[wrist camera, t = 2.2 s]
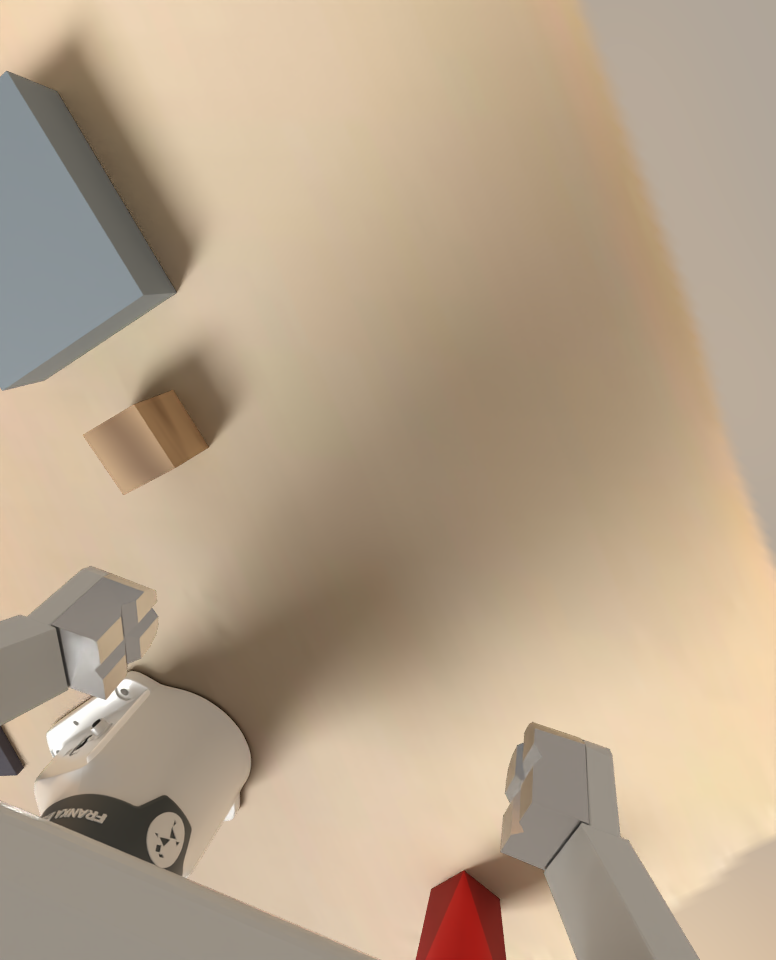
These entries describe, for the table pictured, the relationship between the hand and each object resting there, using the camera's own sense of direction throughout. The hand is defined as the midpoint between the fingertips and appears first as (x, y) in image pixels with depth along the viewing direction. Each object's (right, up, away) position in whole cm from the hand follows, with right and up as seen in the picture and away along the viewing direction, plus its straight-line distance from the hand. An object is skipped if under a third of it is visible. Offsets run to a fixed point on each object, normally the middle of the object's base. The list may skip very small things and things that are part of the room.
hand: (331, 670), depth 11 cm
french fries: (+9, -36, +44) cm, 57 cm away
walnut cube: (-16, +8, +32) cm, 36 cm away
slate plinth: (-23, +20, +28) cm, 42 cm away
